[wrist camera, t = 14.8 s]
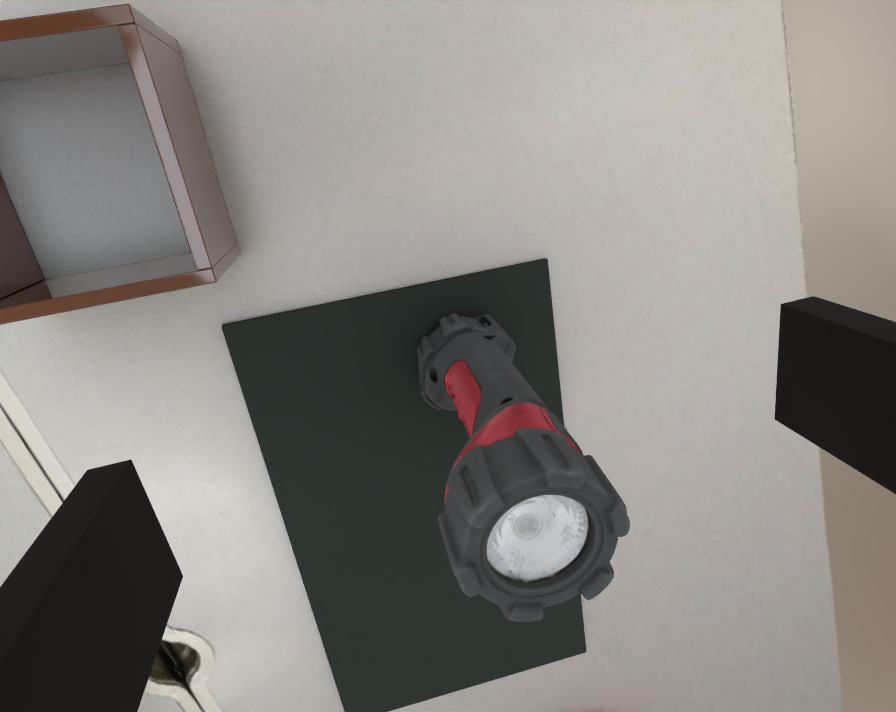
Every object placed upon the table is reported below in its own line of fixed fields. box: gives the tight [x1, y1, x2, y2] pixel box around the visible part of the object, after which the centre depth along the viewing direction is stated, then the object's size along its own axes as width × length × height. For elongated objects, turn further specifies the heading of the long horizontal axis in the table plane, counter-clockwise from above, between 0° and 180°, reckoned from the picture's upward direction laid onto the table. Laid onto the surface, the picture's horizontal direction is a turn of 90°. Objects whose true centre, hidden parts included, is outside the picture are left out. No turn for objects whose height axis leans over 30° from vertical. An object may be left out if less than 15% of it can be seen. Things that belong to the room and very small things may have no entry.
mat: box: [222, 259, 586, 712], centre depth 49 cm, size 24×40×1 cm, turn 9°
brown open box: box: [0, 4, 240, 325], centre depth 32 cm, size 13×13×9 cm
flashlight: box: [417, 313, 630, 622], centre depth 33 cm, size 8×8×23 cm
